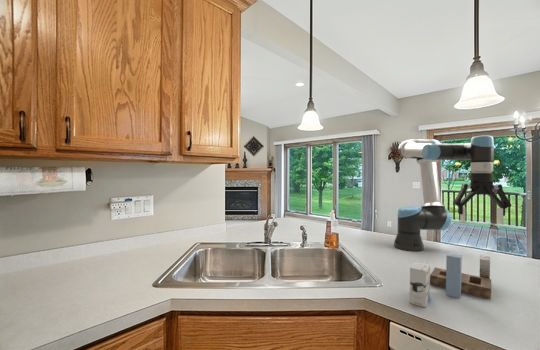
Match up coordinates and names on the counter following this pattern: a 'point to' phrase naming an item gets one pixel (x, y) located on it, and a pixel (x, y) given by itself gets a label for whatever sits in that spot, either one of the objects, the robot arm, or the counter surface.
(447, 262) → the square bit
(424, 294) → the ink box
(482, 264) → the grey upright block
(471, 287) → the bit holder block
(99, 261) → the counter surface
